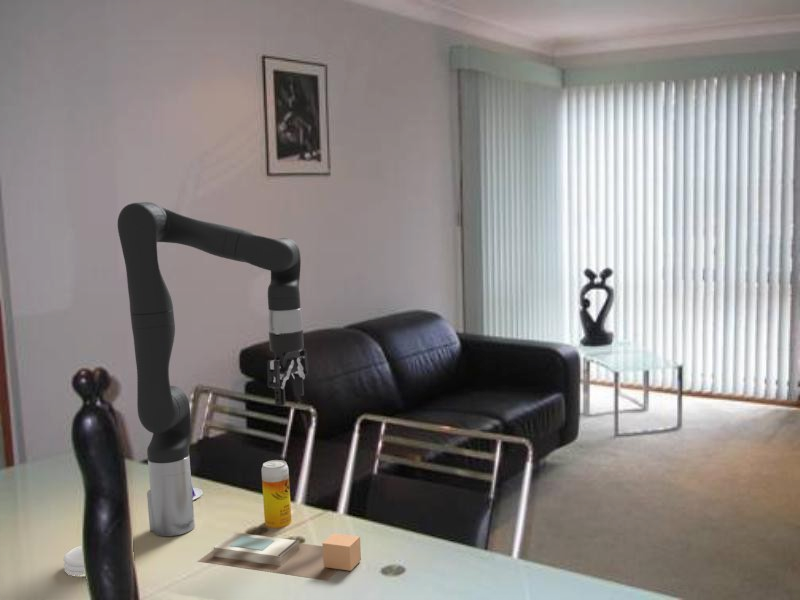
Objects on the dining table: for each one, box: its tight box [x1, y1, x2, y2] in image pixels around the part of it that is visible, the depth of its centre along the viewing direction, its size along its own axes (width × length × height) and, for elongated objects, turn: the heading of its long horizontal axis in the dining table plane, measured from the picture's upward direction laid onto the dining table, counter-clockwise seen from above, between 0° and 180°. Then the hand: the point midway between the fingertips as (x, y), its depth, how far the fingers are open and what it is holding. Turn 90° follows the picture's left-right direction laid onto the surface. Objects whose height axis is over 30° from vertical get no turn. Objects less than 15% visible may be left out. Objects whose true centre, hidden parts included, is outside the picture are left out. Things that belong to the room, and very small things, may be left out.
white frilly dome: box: [63, 545, 85, 576], centre depth 176 cm, size 10×10×4 cm
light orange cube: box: [321, 533, 362, 572], centre depth 169 cm, size 6×5×5 cm
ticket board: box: [197, 532, 339, 581], centre depth 175 cm, size 30×14×3 cm, turn 68°
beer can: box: [261, 459, 292, 529], centre depth 192 cm, size 6×6×15 cm
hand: (290, 400), depth 188 cm, fingers open, 8 cm apart
